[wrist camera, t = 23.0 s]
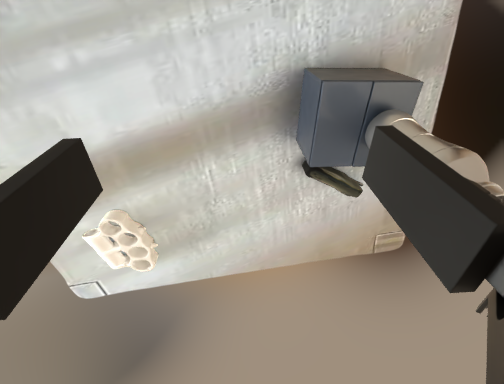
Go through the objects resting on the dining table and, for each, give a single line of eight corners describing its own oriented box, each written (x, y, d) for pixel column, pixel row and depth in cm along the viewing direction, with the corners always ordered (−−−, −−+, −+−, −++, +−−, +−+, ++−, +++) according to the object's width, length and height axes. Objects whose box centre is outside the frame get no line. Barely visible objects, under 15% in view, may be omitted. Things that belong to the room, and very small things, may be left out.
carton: (296, 140, 51) (309, 167, 42) (304, 67, 44) (323, 81, 34) (365, 139, 52) (393, 166, 42) (384, 68, 44) (424, 81, 35)
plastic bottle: (411, 107, 37) (555, 179, 20) (393, 150, 41) (501, 241, 24) (368, 103, 36) (480, 175, 20) (354, 148, 40) (437, 239, 23)
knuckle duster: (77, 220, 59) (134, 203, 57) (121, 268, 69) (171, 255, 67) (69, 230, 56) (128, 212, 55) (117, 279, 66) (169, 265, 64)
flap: (309, 166, 42) (310, 167, 42) (322, 81, 35) (323, 81, 34) (350, 165, 42) (351, 166, 42) (371, 81, 35) (373, 81, 35)
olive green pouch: (304, 178, 50) (364, 204, 54) (312, 165, 49) (374, 193, 53) (299, 166, 55) (355, 191, 58) (307, 154, 53) (364, 180, 57)
